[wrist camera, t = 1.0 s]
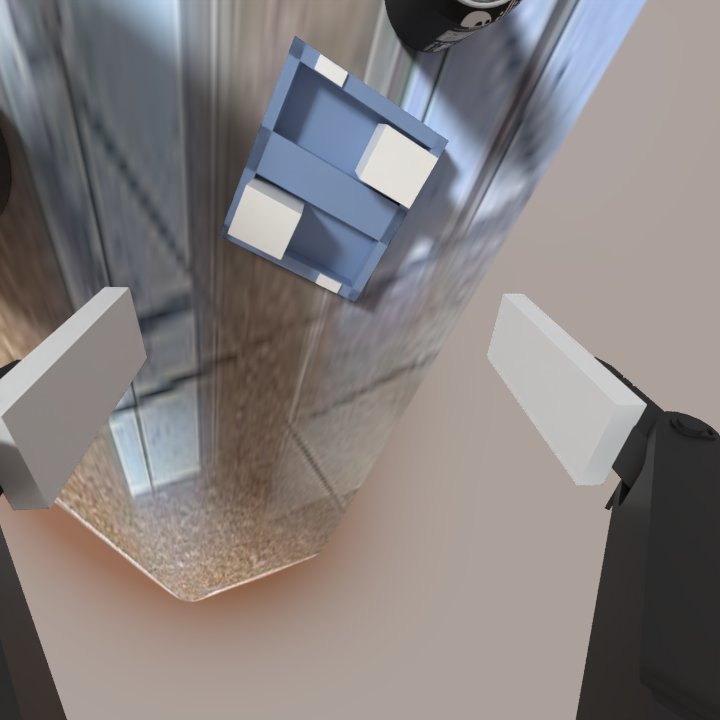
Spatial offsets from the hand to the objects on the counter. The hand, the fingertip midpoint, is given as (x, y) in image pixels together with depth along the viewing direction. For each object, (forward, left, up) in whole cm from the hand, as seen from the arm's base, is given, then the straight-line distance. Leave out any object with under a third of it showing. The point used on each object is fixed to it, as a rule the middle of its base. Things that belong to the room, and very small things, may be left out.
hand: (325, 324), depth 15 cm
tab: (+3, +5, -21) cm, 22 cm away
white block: (-4, -2, -21) cm, 21 cm away
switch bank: (-1, +2, -22) cm, 22 cm away
